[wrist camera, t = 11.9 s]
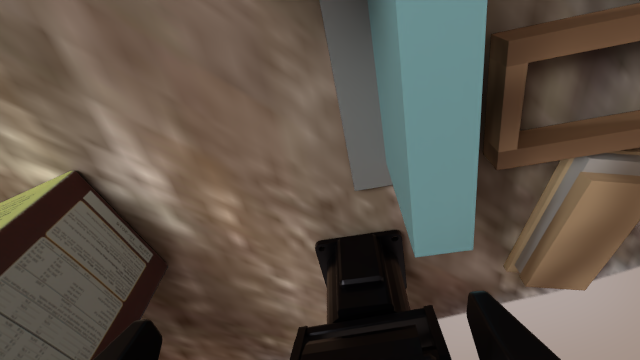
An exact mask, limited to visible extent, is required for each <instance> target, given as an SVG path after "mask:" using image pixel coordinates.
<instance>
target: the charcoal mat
mask: <svg viewBox="0 0 640 360" xmlns="http://www.w3.org/2000/svg"><path fill="white" fill-rule="evenodd" d="M319 1H320V6H321V12H322V17H323V22H324V28H325V33H326V38H327V44H328V49H329V55H330V60H331V65H332V71H333V76H334V81H335V87H336V92H337V98H338V103H339V108H340V114H341V119H342V124H343V130H344V135H345V141H346V146H347V151H348V157H349V162H350V167H351V173H352V178H353V184H354V189H355V191H357V190H364V189H370V188H376V187H382V186H389V185H393V183H392V180H391V177H390V174H389V170H388V167H387V163H386V155H385V146H384V138H383V129H382V121H381V112H380V103H379V95H378V86H377V78H376V69H375V61H374V52H373V43H372V35H371V26H370V18H369V9H368V1H367V0H319Z"/></svg>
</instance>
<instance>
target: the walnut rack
mask: <svg viewBox="0 0 640 360" xmlns="http://www.w3.org/2000/svg"><path fill="white" fill-rule="evenodd" d="M636 41H640V3H636V4H632V5H627V6H622V7H617V8H613V9H608V10H603V11H598V12H594V13H589V14H584V15H579V16H575V17H570V18H565V19H560V20H556V21H551V22H546V23H541V24H537V25H532V26H527V27H523V28H518V29H513V30H508V31H504V32H499V33H494V34H491V41H490V56H489V71H488V87H487V102H486V117H485V132H484V147H483V155H484V156H485V157H486V158H487V159H488V160H489V162H490V163H491V164H492V165H493V166H494V168H495V169H496V170H501V169H508V168H514V167H520V166H526V165H533V164H539V163H545V162H551V161H558V160H564V159H570V158H576V157H583V156H589V155H595V154H601V153H607V152H614V151H620V150H626V149H632V148H639V147H640V110H638V111H632V112H626V113H621V114H615V115H609V116H603V117H598V118H592V119H586V120H580V121H574V122H569V123H563V124H557V125H551V126H546V127H540V128H534V129H528V130H523V131H519V130H520V123H521V115H522V107H523V99H524V92H525V84H526V76H527V68H528V63H530V62H535V61H540V60H545V59H550V58H555V57H560V56H565V55H570V54H575V53H580V52H585V51H590V50H595V49H600V48H606V47H611V46H616V45H621V44H626V43H631V42H636Z"/></svg>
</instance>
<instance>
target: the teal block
mask: <svg viewBox="0 0 640 360" xmlns="http://www.w3.org/2000/svg"><path fill="white" fill-rule="evenodd" d="M367 1H368V9H369V18H370V26H371V35H372V43H373V52H374V61H375V69H376V78H377V86H378V95H379V103H380V112H381V121H382V129H383V138H384V146H385V155H386V163H387V167H388V170H389V174H390V177H391V180H392V183H393V187H394V190H395V193H396V196H397V200H398V203H399V206H400V210H401V213H402V216H403V219H404V223H405V226H406V229H407V232H408V236H409V239H410V242H411V246H412V249H413V252H414V255H415V257H422V256H430V255H437V254H445V253H452V252H460V251H467V250H473V243H474V226H475V208H476V191H477V173H478V155H479V138H480V120H481V103H482V85H483V68H484V50H485V33H486V15H487V0H367Z"/></svg>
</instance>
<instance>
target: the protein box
mask: <svg viewBox="0 0 640 360" xmlns="http://www.w3.org/2000/svg"><path fill="white" fill-rule="evenodd" d="M167 268H168V265H167V264H166V263H165V261H164V260H162V259H161V257H160V256H159V255H158V254H157V253H156V252H155V251H153V249H152V248H151V247H150V246H149V245H148V244H147V243H146V242H145V241H144V240H143V239H142V238H141V237H140V236H139V235H138V234H137V233H136V232H135V231H134V230H133V229H132V228H131V227H130V226H129V225H128V224H127V223H126V222H125V221H124V220H123V219H122V218H121V217H120V216H119V215H118V214H117V213H116V212H115V211H114V210H113V208H112V207H111V206H109V205H108V203H107V202H106V201H105V200H104V199H103V198H102V197H101V196H100V195H99V194H98V193H97V192H96V191H95V190H94V189H93V188H92V187H91V186H90V185H89V184H88V183H87V182H86V181H85V180H84V179H83V178H82V177H81V176H80V175H79V174H78V173H77V172H76V171H70V172H67V173H65V174H63V175H61V176H59V177H56V178H54V179H52V180H50V181H48V182H46V183H43V184H41V185H39V186H37V187H35V188H32V189H30V190H28V191H26V192H24V193H21V194H19V195H17V196H15V197H13V198H10V199H8V200H6V201H4V202H2V203H0V360H93V359H94V358H95V357H97V356H98V355H99V354H100V353H101V352H102V351H103V350H104V349H105V348H106V347H107V346H108V345H109V344H110V343H111V342H112V341H113V340H115V339H116V338H117V337H118V336H119V335H120V334H121V333H122V332H123V331H124V330H125V329H126V328H127V327H128V326H129V325H130V324H131V323H133V322H134V321H136V320H140V319H141V317H142V315H143V313H144V311H145V309H146V308H147V306H148V304H149V302H150V300H151V298H152V296H153V294H154V292H155V290H156V288H157V286H158V284H159V283H160V281H161V279H162V277H163V275H164V273H165V271H166V270H167Z"/></svg>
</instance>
